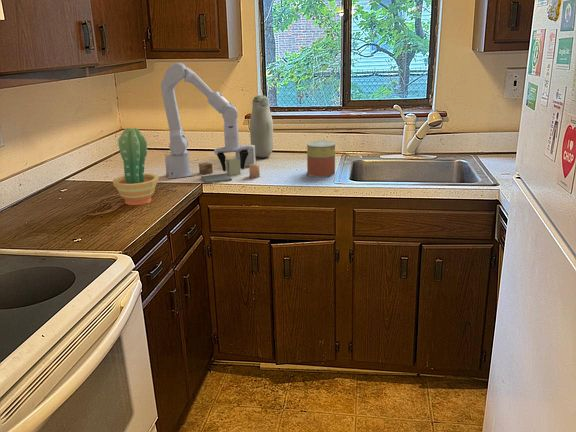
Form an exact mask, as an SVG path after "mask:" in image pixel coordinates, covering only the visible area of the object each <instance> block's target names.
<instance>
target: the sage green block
mask: <svg viewBox="0 0 576 432" xmlns="http://www.w3.org/2000/svg"><path fill="white" fill-rule="evenodd" d="M225 165H226V173H228V174H227V175H228V176H235V175H236V174H238V175H242V174H241V166H240V160H239V159H238V158H236V157H229V158H225Z"/></svg>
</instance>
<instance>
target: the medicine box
mask: <svg viewBox="0 0 576 432" xmlns="http://www.w3.org/2000/svg"><path fill="white" fill-rule="evenodd" d="M246 145H247V144H239V146H246ZM248 145H249V146H250V151H248V156H247V158H246V161H245V165H244V167H249V164H253V163H256V161H257V160H256V156H255V145H251V144H248ZM235 158H238V159H239V160H240V153H239V152H235ZM240 167H241V165H240Z"/></svg>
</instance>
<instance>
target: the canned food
mask: <svg viewBox="0 0 576 432" xmlns="http://www.w3.org/2000/svg"><path fill="white" fill-rule="evenodd" d="M306 153H307V154H306V156H307V157H306V158H307V161H306V162H307V165H306V167H307V170H306V171H307V172H306V175H308V176H311V177H316V178H317V177H318V178H319V177H320V178H321V177H322V178H323V177H325V178H326V177H332V176H333V175H336V143H335V142H333V141H328V140H327V141H326V140H321V141H320V140H317V141H310V142H307V143H306Z"/></svg>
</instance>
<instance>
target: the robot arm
mask: <svg viewBox="0 0 576 432" xmlns="http://www.w3.org/2000/svg"><path fill="white" fill-rule="evenodd" d="M182 80H183V82H185V83H190V84H192V85H193V86H194V87H195V88H197V89H198V90H199V92H201V93H202V94H203V95H204V96H205V97H206V98H207V103H208V104H209V105H210V106H211V107H212V108H214V110H215V111H216V112H217V113H218V114H221V117H222V119H223V136H224V138H223V139H224V146H223V147H218V148H214V149H213V152H214V155H216V156H217V159H218V160H219V162H220V164H221V168H222V171H223V172H227V168H226V158H227V157H226V155H225V154H226V153H229V154H230V153H236V152H239V153H240V165H241V166H240V170H244V169H245V166H244V165H245V161H246V158H247V156H248V151H250V146H249V145H250V144H245V145H246V146H239V145H240V140H239V138H240V137H239V133H240V132H239V124H238V121H239V120H238V109H237V108H236V106H235V105H233V104H232V102H231V101H230V102H229V101H228V100H227V99H226V98H225V97H224V94H223V93H222V92H219V91H217V90H215V91H213V90H212V89H211V87H210V86H208V84H207V83H205V82H204V81H203V79H202V78H201V77H200V76H199V75H198V73H196V72H195V71H194V70H192V69H191V68H190V67H187V66H186V64H185V63H183V62H180V61H178V62H175V63H173V64H171V65H169V67H168V68H167V69H166V70H165V74H164V76H163V78H162V80H161V82H160V90H161V96H162V99H163V104H164V105H163V106H164V110H165V115H166V119H167V124H168V128H169V129H168V130H169V141H170V142H169V145H168V148H169V151H170V154H166V155H165V156H164V162H165V163H164V164H165V172H166V173H165V175H166V176H167V177H168V179H178V178H186V177H193V176H194V174H193V173H192V172H191V166H190V156H189V155H190V153H189V152H190V151H189V150H187V148H188V147H189V146H188V145H189V141H188V139H187V137H186V135H185V132H184V129H183V128H182V122H181V118H180V112H179V107H178V103H177V97H176V92H175V88H176V86H177V85H178V84H179V83H180V82H181V81H182Z"/></svg>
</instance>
